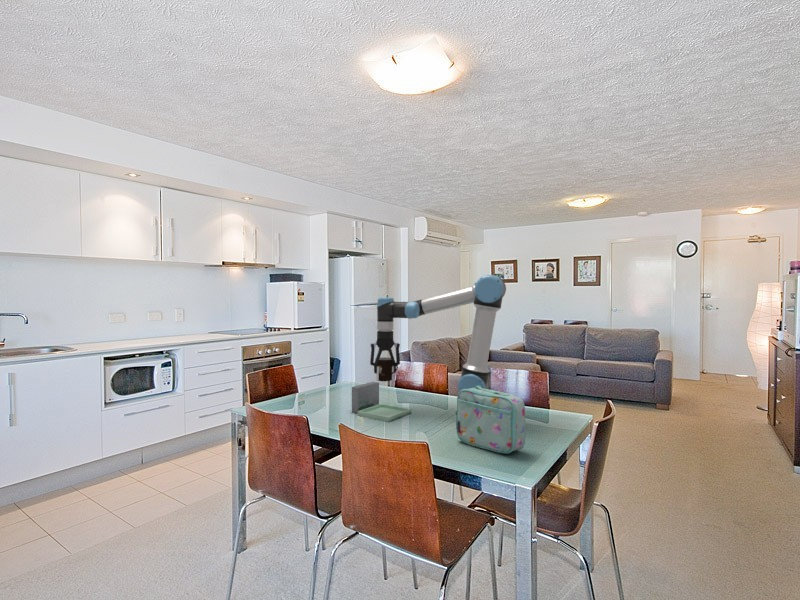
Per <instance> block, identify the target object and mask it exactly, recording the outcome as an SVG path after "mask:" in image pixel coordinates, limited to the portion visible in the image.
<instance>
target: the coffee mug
mask: <svg viewBox="0 0 800 600" xmlns="http://www.w3.org/2000/svg"><path fill="white" fill-rule="evenodd" d="M374 359H375V360H376V358H374ZM375 360H374V361H375ZM392 360H393V359H391V357H380V359H379V360H378V365H377V366H378V367H379V381H378V382H390V381H392V380H391V378H392V374H393V373H394V374H395V372H397V371H398V369H399V365H397V364H396V363H395V362H396V361H395V362H394V363H393V362H392ZM393 364H396V370H395V371H394V372H392V366H393Z"/></svg>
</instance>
